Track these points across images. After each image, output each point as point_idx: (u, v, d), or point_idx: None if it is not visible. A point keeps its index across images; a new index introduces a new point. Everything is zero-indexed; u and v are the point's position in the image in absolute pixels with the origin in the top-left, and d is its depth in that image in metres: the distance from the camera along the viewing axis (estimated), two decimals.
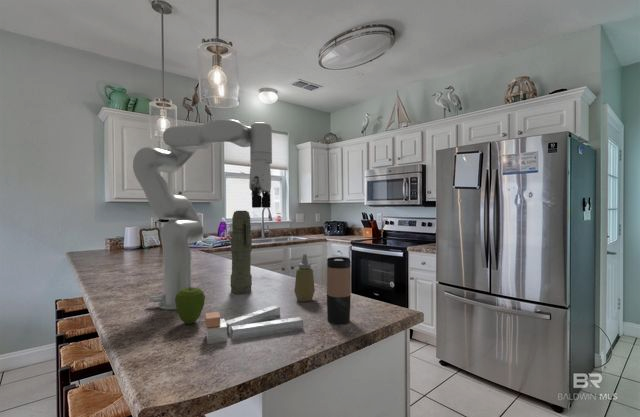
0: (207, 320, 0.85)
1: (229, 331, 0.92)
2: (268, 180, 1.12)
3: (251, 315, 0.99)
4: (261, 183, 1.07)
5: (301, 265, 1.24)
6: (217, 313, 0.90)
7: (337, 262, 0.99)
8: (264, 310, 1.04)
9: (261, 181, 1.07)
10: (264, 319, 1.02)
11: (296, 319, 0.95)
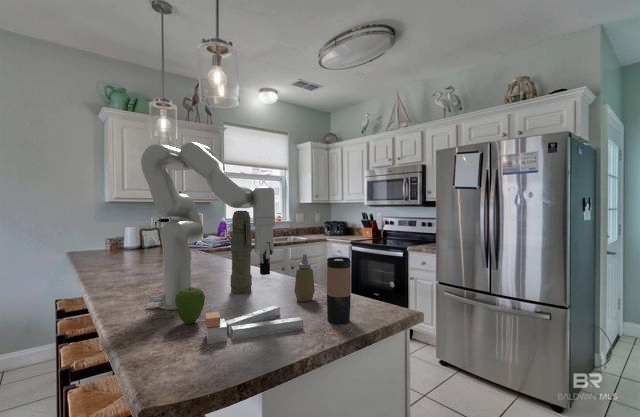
0: (207, 320, 0.85)
1: (229, 331, 0.92)
2: None
3: (251, 315, 0.99)
4: (272, 249, 1.08)
5: (301, 265, 1.24)
6: (217, 313, 0.90)
7: (337, 262, 0.99)
8: (264, 310, 1.04)
9: (272, 247, 1.08)
10: (264, 319, 1.02)
11: (296, 319, 0.95)
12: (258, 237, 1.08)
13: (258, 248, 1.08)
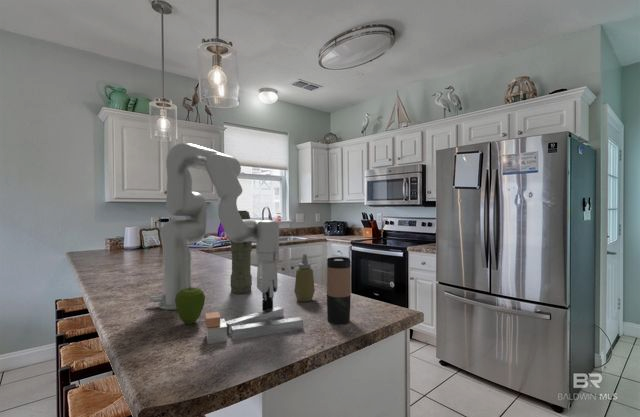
0: (207, 320, 0.85)
1: (230, 331, 0.92)
2: None
3: (253, 316, 0.98)
4: (276, 286, 1.03)
5: (301, 265, 1.24)
6: (217, 313, 0.90)
7: (337, 262, 0.99)
8: (267, 311, 1.03)
9: (276, 284, 1.03)
10: (267, 320, 1.01)
11: (296, 319, 0.95)
12: (261, 274, 1.04)
13: (261, 285, 1.04)
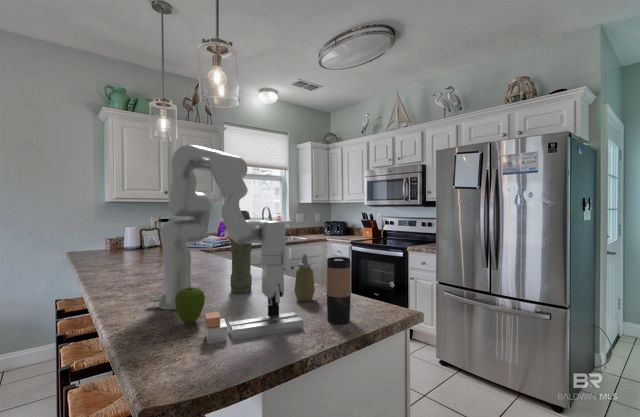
0: (207, 320, 0.85)
1: None
2: None
3: (260, 319, 0.95)
4: (283, 291, 0.97)
5: (301, 265, 1.24)
6: (217, 313, 0.90)
7: (337, 262, 0.99)
8: (278, 316, 0.98)
9: (283, 288, 0.97)
10: None
11: (296, 319, 0.95)
12: (267, 278, 0.97)
13: (267, 290, 0.97)
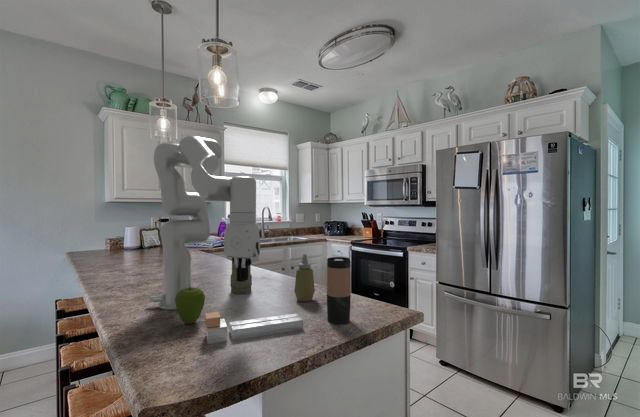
0: (207, 320, 0.85)
1: None
2: None
3: (261, 320, 0.94)
4: (259, 249, 0.94)
5: (301, 265, 1.24)
6: (217, 313, 0.90)
7: (337, 262, 0.99)
8: (280, 317, 0.97)
9: (259, 247, 0.94)
10: None
11: (296, 319, 0.95)
12: (244, 236, 0.90)
13: (244, 250, 0.90)
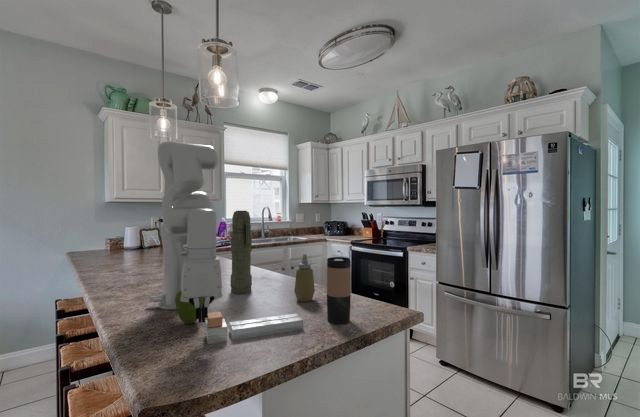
0: (209, 320, 0.86)
1: None
2: None
3: (261, 320, 0.94)
4: None
5: (301, 265, 1.24)
6: (219, 313, 0.90)
7: (337, 262, 0.99)
8: (280, 317, 0.97)
9: None
10: None
11: (296, 319, 0.95)
12: (213, 273, 0.86)
13: (213, 287, 0.86)
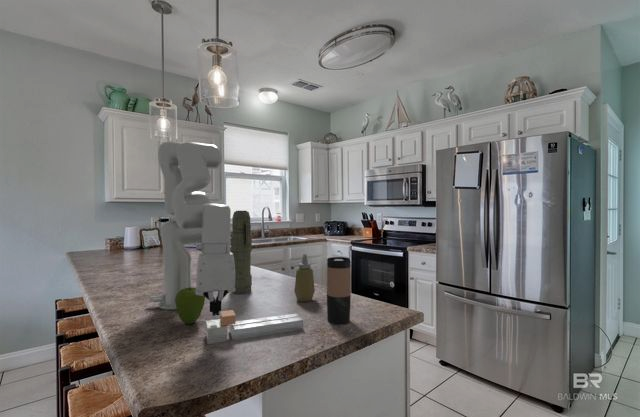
0: (223, 318, 0.87)
1: None
2: None
3: (261, 320, 0.94)
4: None
5: (301, 265, 1.24)
6: (232, 311, 0.91)
7: (337, 262, 0.99)
8: (280, 317, 0.97)
9: None
10: None
11: (296, 319, 0.95)
12: (227, 267, 0.87)
13: (227, 281, 0.87)
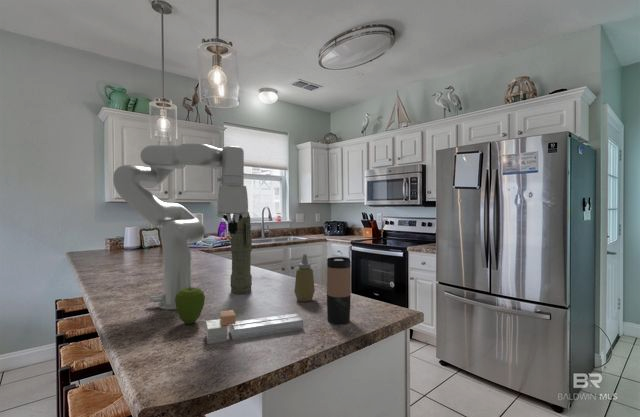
0: (223, 318, 0.87)
1: None
2: None
3: (261, 320, 0.94)
4: None
5: (301, 265, 1.24)
6: (232, 311, 0.91)
7: (337, 262, 0.99)
8: (280, 317, 0.97)
9: None
10: None
11: (296, 319, 0.95)
12: (241, 196, 1.11)
13: (241, 206, 1.11)
